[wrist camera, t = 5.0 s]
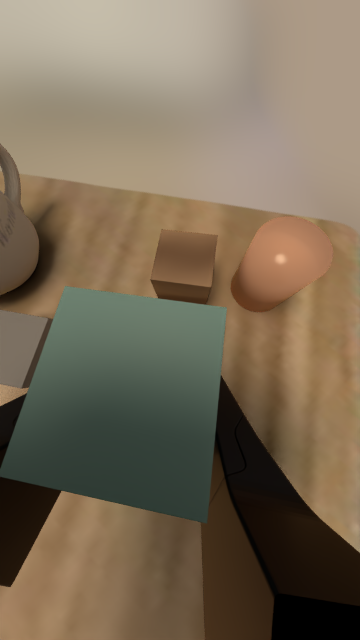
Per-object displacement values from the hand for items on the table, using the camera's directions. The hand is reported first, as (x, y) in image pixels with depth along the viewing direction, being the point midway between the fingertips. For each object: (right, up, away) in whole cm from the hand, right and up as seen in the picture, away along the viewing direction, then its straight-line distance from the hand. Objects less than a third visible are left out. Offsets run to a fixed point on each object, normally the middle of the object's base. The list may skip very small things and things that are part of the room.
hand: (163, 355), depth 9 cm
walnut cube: (+1, +6, +8) cm, 10 cm away
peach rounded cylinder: (+8, +5, +8) cm, 13 cm away
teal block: (0, -3, +6) cm, 7 cm away
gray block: (-12, -1, +7) cm, 14 cm away
